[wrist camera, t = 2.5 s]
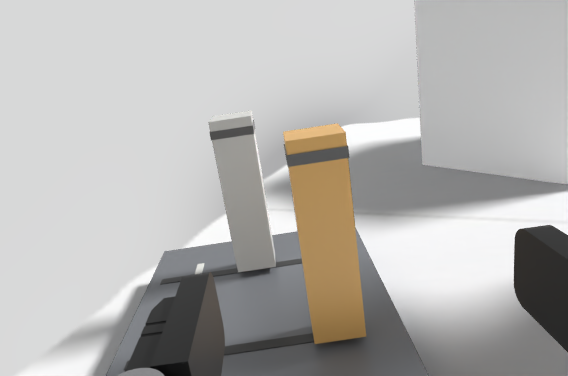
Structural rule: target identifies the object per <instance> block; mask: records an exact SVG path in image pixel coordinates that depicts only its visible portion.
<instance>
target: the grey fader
mask: <svg viewBox="0 0 568 376" xmlns="http://www.w3.org/2000/svg"><path fill="white" fill-rule="evenodd" d="M209 128H210V137H211V140H212V143H213V148H214V153H215V158H216V163H217V168H218V173H219V178H220V183H221V188H222V193H223V199H224V204H225V208H226V214H227V219H228V224H229V229H230V234H231V239H232V244H233V249H234V254H235V259H236V264H237V269H238V272H244V271H251V270H258V269H264V268H271V267H276V261H275V249H274V243H273V237H272V231H271V225H270V219H269V213H268V207H267V201H266V195H265V189H264V183H263V177H262V171H261V165H260V159H259V153H258V147H257V141H256V135H255V125H254V120H253V117H252V111H246V112H239V113H232V114H226V115H219V116H213V117H212V118H211V119H210V121H209Z"/></svg>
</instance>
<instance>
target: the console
mask: <svg viewBox="0 0 568 376" xmlns="http://www.w3.org/2000/svg"><path fill="white" fill-rule="evenodd" d="M355 231H356V240H357V250H358V260H359V270H360V280H361V289H362V299H363V309H364V319H365V329H366V337H360V338H353V339H346V340H339V341H333V342H326V343H319V344H315V343H314V337H313V331H312V325H311V319H310V313H309V306H308V299H307V292H306V285H305V278H304V272H303V265H302V258H301V251H300V244H299V237H298V232H291V233H285V234H278V235H272V237H273V243H274V249H275V261H276V267H271V268H264V269H258V270H251V271H244V272H238V269H237V264H236V259H235V254H234V249H233V244H232V241H231V242H225V243H218V244H211V245H205V246H198V247H191V248H185V249H178V250H172V251H165V252H164V254H163V256H162V258H161V260H160V262H159V264H158V266H157V269H156V271H155V273H154V275H153V277H152V279H151V281H150V283H149V286H148V288H147V290H146V292H145V294H144V296H143V298H142V300H141V302H140V305H139V307H138V309H137V311H136V313H135V315H134V317H133V319H132V321H131V324H130V326H129V328H128V330H127V332H126V334H125V336H124V338H123V341H122V343H121V345H120V347H119V349H118V351H117V353H116V355H115V357H114V360H113V362H112V364H111V366H110V368H109V370H108V372H107V374H106V376H117V375H119V374H121V373H123V372H125V370H126V368H127V365H128V363H129V361H130V358H131V356H132V354H133V351H134V349H135V347H136V344H137V342H138V340H139V337H141V333H142V330H143V328H144V326H146V321H147V319H148V317H149V314H150V312H151V310H152V309H153V308H154V307H155V306H156V305H157V304H158V303H159V302H160V301H161V300H162V299H164V298H168V297H175V296H176V293H177V290H178V287H179V285H180V282H181V279H182V277H183V276H189V275H196V274H203V273H210V272H211V273H212V275H213V278H214V282H215V286H216V291H217V296H218V301H219V306H220V311H221V316H222V321H223V326H224V334H225V350H224V358H223V365H222V373H221V376H429V375H428V373H427V371H426V369H425V367H424V365H423V363H422V361H421V359H420V357H419V355H418V353H417V351H416V349H415V347H414V345H413V343H412V341H411V339H410V337H409V335H408V333H407V331H406V329H405V327H404V325H403V323H402V321H401V319H400V316H399V314H398V312H397V310H396V308H395V306H394V304H393V302H392V300H391V298H390V296H389V294H388V292H387V290H386V288H385V286H384V284H383V282H382V280H381V278H380V276H379V274H378V272H377V270H376V268H375V266H374V264H373V262H372V260H371V258H370V256H369V254H368V252H367V250H366V248H365V246H364V244H363V242H362V240H361V238H360V236H359V234H358V232H357V230H356V228H355Z"/></svg>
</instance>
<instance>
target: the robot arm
mask: <svg viewBox="0 0 568 376" xmlns="http://www.w3.org/2000/svg"><path fill="white" fill-rule="evenodd" d="M514 288H515V293H516V296H517V298H518V301H519V302H520V304H521V305H522V307H523V308H524V309H525V310H526V311H527V312H528V313H529V314H530V315H531V316H532V317H533V318H534V319H535V320H536V321H537V322H538V323H539V324H540V325H541V326H542V327H543V328H544V329H545V330H546V331H547V332H548V333H549V334H550V335H551V336H552V337H553V338H554V339H555V340H556V341H557V342H558V343H559V344H560V345H561V346H562V347H563V348H564V349H565V350H566V351H567V352H568V235H566V234H565V233H563V232H562V231H560V230H558V229H557V228H555V227H553V226H551V225H545V226H538V227H531V228H524V229H519V230H518V231H517V233H516V235H515V251H514ZM224 350H225V334H224V326H223V321H222V316H221V311H220V306H219V301H218V296H217V291H216V286H215V282H214V278H213V275H212V273H211V272H210V273H203V274H196V275H189V276H183V277H182V279H181V282H180V285H179V287H178V290H177V293H176V296H175V297H168V298H164V299H162V300H161V301H160V302H159V303H158V304H157V305H156V306H155V307H154V308H153V309H152V310H151V312H150V314H149V317H148V319H147V321H146V326H144V328H143V330H142V333H141V337H139V340H138V342H137V344H136V347H135V349H134V351H133V354H132V356H131V358H130V361H129V363H128V365H127V368H126V370H125V372H123V373H121V374H119V375H117V376H221V373H222V365H223V358H224Z"/></svg>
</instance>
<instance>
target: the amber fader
mask: <svg viewBox="0 0 568 376" xmlns="http://www.w3.org/2000/svg"><path fill="white" fill-rule="evenodd" d="M283 135H284V141H285V144H284V148H285V155H286V160H287V165H288V169H289V176H290V183H291V189H292V196H293V203H294V210H295V217H296V224H297V231H298V237H299V244H300V251H301V258H302V265H303V272H304V278H305V285H306V292H307V299H308V306H309V313H310V319H311V325H312V331H313V337H314V343H315V344H319V343H326V342H333V341H339V340H346V339H353V338H360V337H366V329H365V319H364V309H363V299H362V289H361V280H360V270H359V260H358V250H357V240H356V231H355V221H354V211H353V201H352V191H351V182H350V172H349V162H348V158H349V150H348V145H347V142H346V132H345V131H344V130H343V129H342V128H341V127H340V126H339V125H338V124H331V125H325V126H318V127H311V128H305V129H298V130H291V131H285V132H283Z"/></svg>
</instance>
